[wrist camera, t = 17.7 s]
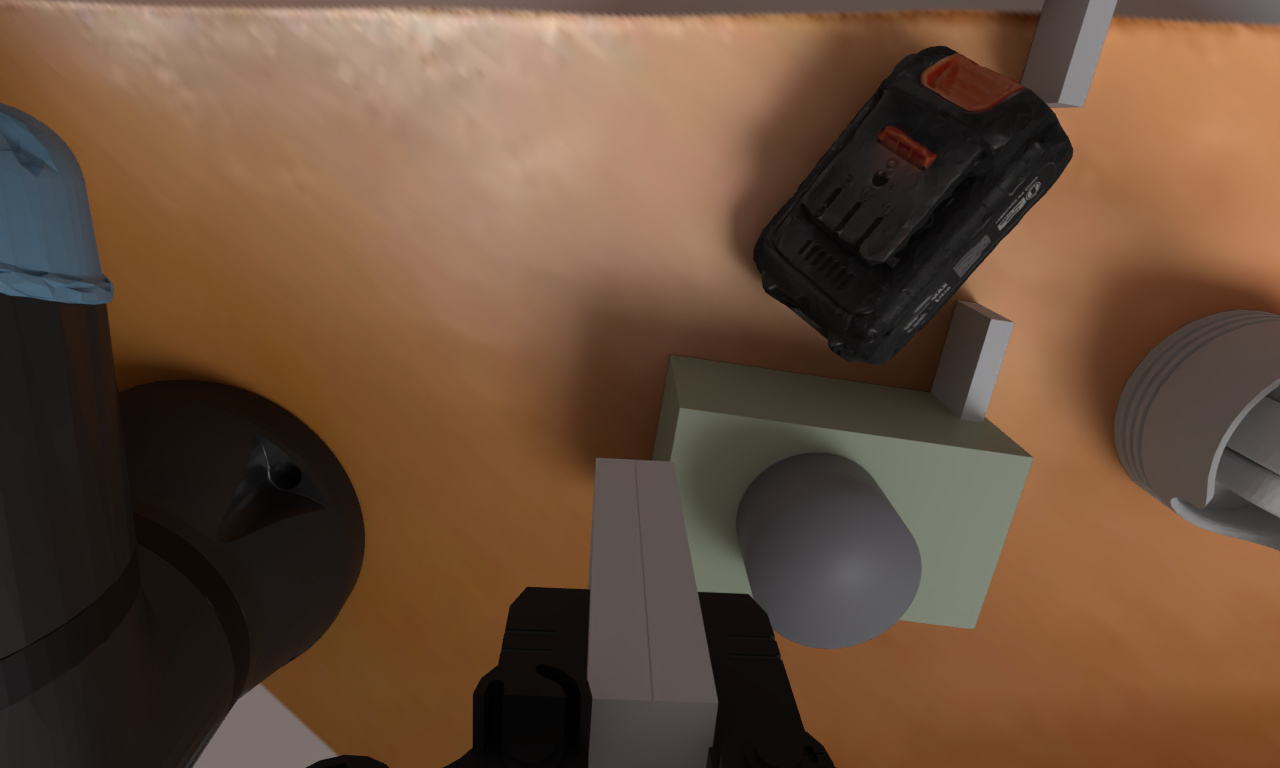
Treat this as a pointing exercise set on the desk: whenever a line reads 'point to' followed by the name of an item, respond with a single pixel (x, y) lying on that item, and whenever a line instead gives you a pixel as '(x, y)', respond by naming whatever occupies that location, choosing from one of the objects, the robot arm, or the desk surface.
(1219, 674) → the desk surface
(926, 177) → the battery
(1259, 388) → the engine component
